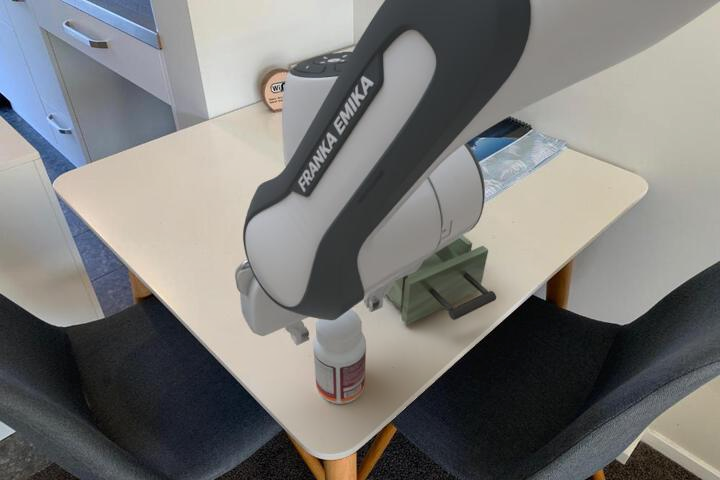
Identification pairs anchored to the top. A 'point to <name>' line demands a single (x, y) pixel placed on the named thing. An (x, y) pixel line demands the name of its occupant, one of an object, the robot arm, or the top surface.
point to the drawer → (443, 283)
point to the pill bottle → (340, 358)
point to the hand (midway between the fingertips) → (337, 322)
